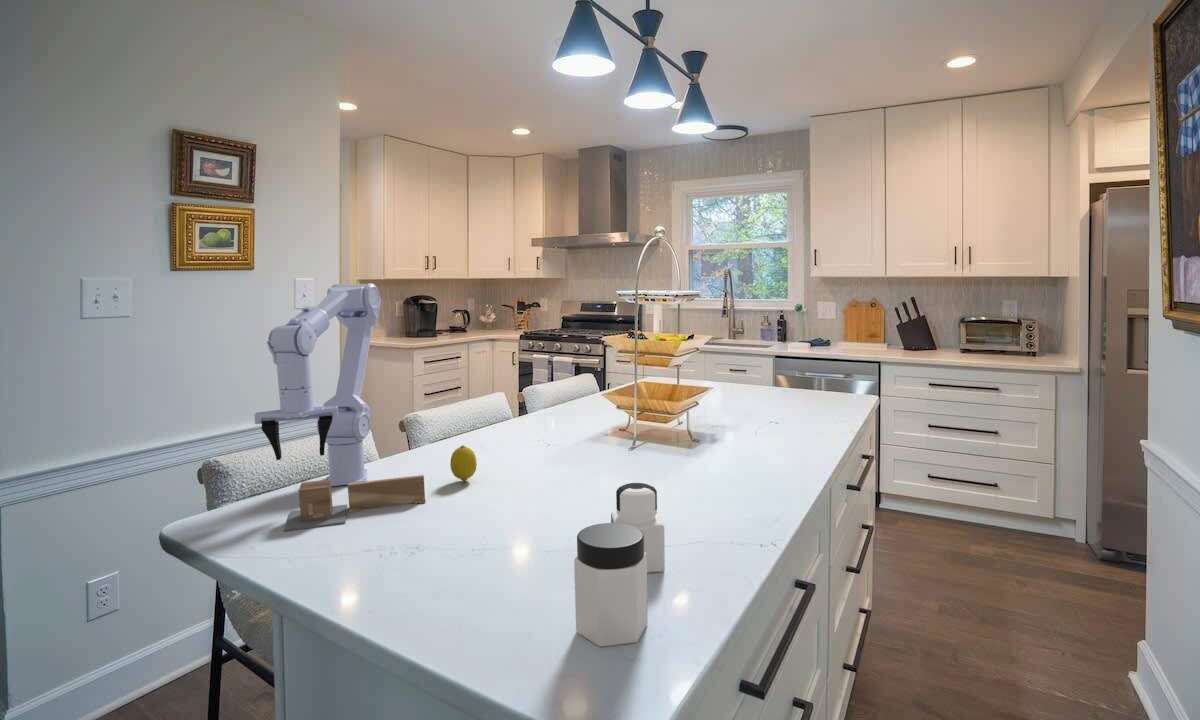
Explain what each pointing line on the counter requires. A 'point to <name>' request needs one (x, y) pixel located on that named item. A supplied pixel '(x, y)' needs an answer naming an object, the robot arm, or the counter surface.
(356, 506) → the screen
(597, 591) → the jar
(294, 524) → the mat
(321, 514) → the letter block
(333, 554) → the counter surface
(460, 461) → the lemon
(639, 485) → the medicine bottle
